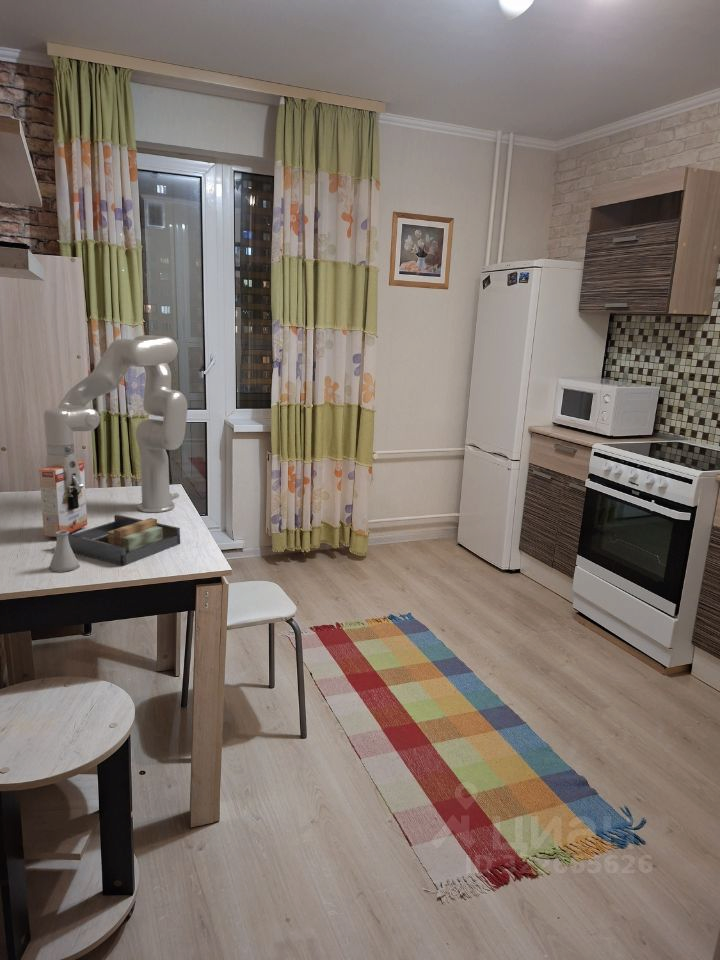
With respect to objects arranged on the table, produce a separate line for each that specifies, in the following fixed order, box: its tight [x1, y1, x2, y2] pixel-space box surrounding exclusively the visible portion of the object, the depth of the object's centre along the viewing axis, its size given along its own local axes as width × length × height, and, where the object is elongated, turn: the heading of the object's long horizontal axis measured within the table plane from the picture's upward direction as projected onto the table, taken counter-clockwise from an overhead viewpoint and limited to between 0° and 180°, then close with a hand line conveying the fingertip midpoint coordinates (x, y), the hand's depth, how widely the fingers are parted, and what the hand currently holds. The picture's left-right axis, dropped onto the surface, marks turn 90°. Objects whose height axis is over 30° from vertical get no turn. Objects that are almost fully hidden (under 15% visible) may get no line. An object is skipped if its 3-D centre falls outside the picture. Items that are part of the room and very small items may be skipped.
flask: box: [48, 530, 81, 573], centre depth 173 cm, size 7×7×10 cm
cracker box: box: [38, 460, 88, 538], centre depth 200 cm, size 14×6×21 cm, turn 168°
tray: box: [68, 514, 181, 566], centre depth 191 cm, size 22×26×5 cm
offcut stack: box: [106, 517, 163, 552], centre depth 188 cm, size 14×8×8 cm, turn 153°
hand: (65, 506), depth 200 cm, fingers closed on cracker box, 6 cm apart
